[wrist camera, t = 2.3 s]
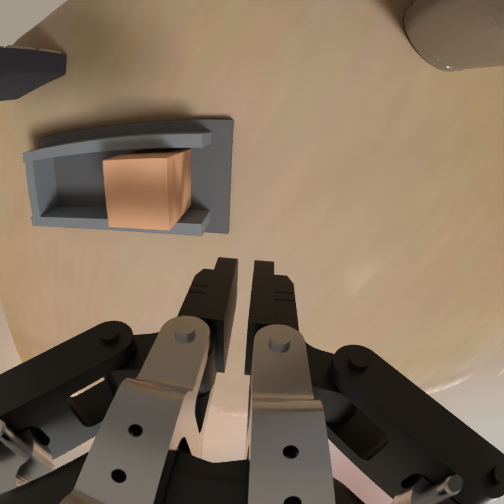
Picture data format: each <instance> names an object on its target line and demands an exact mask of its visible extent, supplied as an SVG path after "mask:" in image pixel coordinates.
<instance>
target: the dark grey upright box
mask: <svg viewBox="0 0 504 504" xmlns="http://www.w3.org/2000/svg"><path fill="white" fill-rule="evenodd" d="M65 70H66V55H65V54H62V52H61V51H55V50H49V49H41V48H39V49H37V50H35V48H33V47H24V46H13V45H9V46H6V47H5V48H4V47H3V46H0V101H4V100H13V99H18V98H20V97H22V96H23V95H25V94H27V93H29V92H31V91H32V90H34V89H36V88H38V87H40V86H42V85H44V84H46V83H48V82H50V81H52V80H54V79H57V78H59V77H61V76H63V75H65Z"/></svg>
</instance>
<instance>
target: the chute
mask: <svg viewBox="0 0 504 504" xmlns="http://www.w3.org/2000/svg"><path fill="white" fill-rule="evenodd" d="M233 125H234V120H168V121H152V122H139V123H128V124H119V125H111V126H103V127H96V128H90V129H84V130H78V131H72V132H67V133H62V134H57V135H52V136H48V137H44V138H39V139H38V141H39V149H35V150H31V151H28V152H25V153H23V162H25V164H26V175H27V183H28V191H29V197H30V204H31V210H32V215H33V216H32V217H31V219H32V224H33V226H48V227H66V228H84V229H101V230H117V231H133V232H148V233H163V234H177V235H191V236H202V234H203V233H204V232H209V233H223V234H228V233H229V218H230V190H231V166H232V144H233ZM149 149H191V206H190V207H189V208H188V210H187V211H186V212H185V213H184V214H183V215H182V217H181V218H180V219H179V220H178V221H177V222H176V224H175V225H174V226H173V227H172V228H171V229H170V231H168V230H152V229H136V228H119V227H109V223H108V215H107V207H106V197H105V187H104V174H103V160H106V159H110V158H113V157H116V156H119V155H122V154H126V153H129V152H133V151H136V150H149Z"/></svg>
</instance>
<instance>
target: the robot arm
mask: <svg viewBox="0 0 504 504" xmlns="http://www.w3.org/2000/svg"><path fill="white" fill-rule="evenodd" d="M404 26H405V30H406V33H407V35H408V38H409V40H410V42H411V43H412V45H413V47H414V48H415V49H416V51H417V52H418V53H419V54H420V55H421V56H422V57H423V58H424V59H425V60H426V61H427V62H428V63H430V64H431V65H433V66H434V67H436V68H438V69H441V70H444V71H456V70H464V69H473V68H483V67H495V66H504V0H413V5H412V6H410V7H409V8H408V9H407V11H406V12H405V16H404ZM237 279H238V259H234V258H222V257H219V258H218V260H217V263H216V266H215V268H214V270H211V269H203V270H202V271H200V272H199V273H198V274H196V275H195V277H194V279H193V281H192V284H191V286H190V288H189V291H188V293H187V295H186V297H185V300H184V302H183V304H182V307H181V309H180V311H179V314H178V316H177V317H175V318H172V319H170V320H168V321H167V322H166V323H165V324H164V325H163V326H162V328H161V330H160V332H158V333H153V334H141V335H133V332H132V330H131V328H130V327H129V326H128V325H127V324H125V323H123V322H119V321H108V322H104V323H101V324H99V325H97V326H95V327H93V328H91V329H89V330H87V331H85V332H83V333H81V334H79V335H77V336H75V337H73V338H71V339H69V340H67V341H65V342H63V343H61V344H59V345H57V346H55V347H53V348H51V349H49V350H47V351H45V352H43V353H42V354H40V355H38V356H36V357H34V358H32V359H30V360H28V361H26V362H24V363H22V364H20V365H18V366H16V367H14V368H12V369H10V370H8V371H6V372H4V373H2V374H0V504H365V503H364V502H363V501H361V500H360V499H359V498H358V497H357V496H356V495H355V494H354V493H352V491H351V490H350V489H348V488H347V487H346V486H345V485H344V484H342V483H341V482H340V481H338V480H337V479H335V478H333V476H332V468H331V460H330V451H329V444H328V439H329V440H330V441H331V442H332V443H333V444H334V445H335V446H336V447H337V448H338V449H339V450H340V451H341V452H342V453H343V454H344V455H345V456H346V457H348V459H350V460H351V461H352V462H353V463H354V464H355V465H356V466H357V467H358V468H359V469H360V470H361V471H362V472H363V473H364V474H366V476H368V477H369V478H370V479H371V480H372V481H373V482H375V484H376V485H378V486H379V487H380V488H381V489H382V490H383V491H384V492H386V493H387V494H388V495H389V496H390V497H391V498H392V499H393V501H392V504H488V503H490V502H492V501H494V500H496V499H497V498H499V497H501V496H503V495H504V454H503V453H502V452H501V451H499V450H498V449H497V448H495V447H494V446H493V445H491V444H490V443H489V442H488V441H486V440H485V439H484V438H483V437H481V436H480V435H479V434H477V433H476V432H475V431H474V430H472V429H471V428H470V427H468V426H467V425H466V424H465V423H463V422H462V421H461V420H460V419H458V418H457V417H456V416H454V415H453V414H452V413H451V412H449V411H448V410H447V409H445V408H444V407H443V406H442V405H440V404H439V403H438V402H437V401H435V400H434V399H433V398H431V397H430V396H429V395H428V394H426V393H425V392H424V391H423V390H421V389H420V388H419V387H417V386H416V385H415V384H414V383H412V382H411V381H410V380H409V379H407V378H406V377H405V376H404V375H402V374H401V373H400V372H398V371H397V370H396V369H395V368H393V367H392V366H391V365H390V364H388V363H387V362H386V361H384V360H383V359H382V358H381V357H379V356H378V355H377V354H376V353H374V352H373V351H372V350H370V349H368V348H366V347H364V346H360V345H347V346H343V347H341V348H340V349H338V350H337V351H336V353H335V354H333V353H329V352H325V351H321V350H318V349H316V348H314V347H312V346H310V345H309V344H307V343H306V342H305V340H304V337H303V336H302V335H301V333H300V332H299V327H298V318H297V309H296V302H295V295H294V293H295V292H294V284H293V283H292V281H291V280H290V279H289V278H288V276H284V275H274V262H272V261H259V260H255V262H254V272H253V281H252V291H251V300H250V309H249V318H248V330H247V345H246V359H245V373H244V375H250V386H249V396H248V416H247V435H246V451H245V460H238V461H230V462H220V463H212V462H208V461H205V460H202V459H201V456H202V442H203V435H204V430H205V425H206V421H207V417H208V412H209V408H210V404H211V399H212V395H213V386H214V383H215V378H216V373H217V372H222V373H224V372H225V366H226V360H227V355H228V349H229V343H230V337H231V331H232V326H233V320H234V314H235V308H236V300H237ZM102 377H104V379H105V380H104V381H102V382H100V383H98V384H97V385H95V386H93V387H91V388H90V389H88V390H86V391H84V392H83V393H81V394H79V395H77V396H75V397H70V396H71V395H72V394H74V393H76V392H77V391H79V390H81V389H83V388H85V387H86V386H88V385H90V384H92V383H94V382H95V381H97V380H99V379H101V378H102ZM94 436H96V437H95V440H94V442H93V444H92V446H91V449H90V451H89V452H87V453H86V454H84V455H82V456H80V457H78V458H76V459H74V460H73V461H71V462H69V463H67V464H65V465H63V466H61V467H59V468H57V469H55V467H54V465H53V459H55V458H57V457H59V456H61V455H63V454H65V453H66V452H68V451H70V450H72V449H74V448H75V447H77V446H79V445H81V444H82V443H84V442H86V441H87V440H89V439H91V438H93V437H94Z"/></svg>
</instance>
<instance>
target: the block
mask: <svg viewBox="0 0 504 504" xmlns="http://www.w3.org/2000/svg"><path fill="white" fill-rule="evenodd" d="M103 174H104V187H105V197H106V207H107V215H108V223H109V227H119V228H136V229H152V230H168V231H170V229H171V228H172V227H173V226H174V225H175V224H176V222H177V221H178V220H179V219H180V218H181V217H182V215H183V214H184V213H185V212H186V211H187V210H188V208H189V207H190V206H191V149H149V150H136V151H133V152H129V153H126V154H122V155H119V156H116V157H113V158H110V159H106V160H103Z"/></svg>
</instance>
